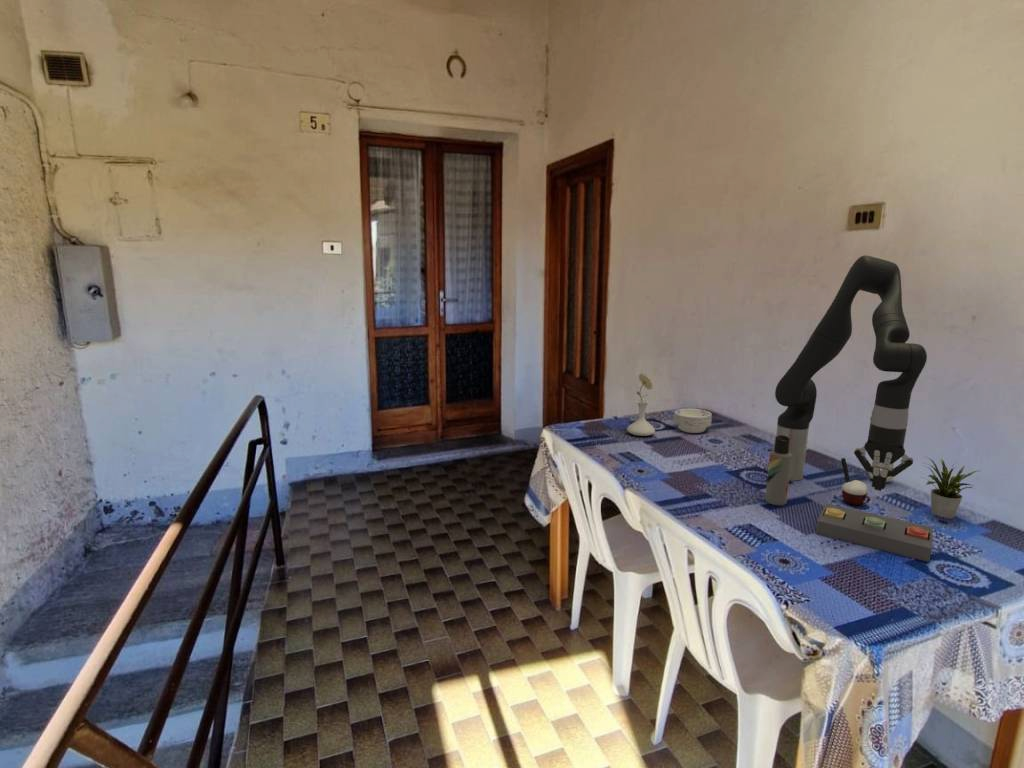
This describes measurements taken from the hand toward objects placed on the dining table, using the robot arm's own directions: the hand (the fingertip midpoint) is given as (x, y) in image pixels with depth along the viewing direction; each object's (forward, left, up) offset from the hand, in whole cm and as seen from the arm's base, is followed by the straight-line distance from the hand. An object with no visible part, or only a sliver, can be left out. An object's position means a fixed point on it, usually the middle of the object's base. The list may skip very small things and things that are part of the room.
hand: (877, 489), depth 143 cm
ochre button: (-9, 0, -12) cm, 15 cm away
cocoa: (-7, +22, -13) cm, 27 cm away
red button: (+9, 0, -12) cm, 15 cm away
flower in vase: (-86, +48, -13) cm, 99 cm away
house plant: (+13, +28, -13) cm, 34 cm away
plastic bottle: (-2, +47, -13) cm, 49 cm away
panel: (0, 0, -13) cm, 13 cm away
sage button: (0, 0, -12) cm, 12 cm away
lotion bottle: (-25, +8, -13) cm, 29 cm away
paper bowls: (-71, +66, -13) cm, 98 cm away
